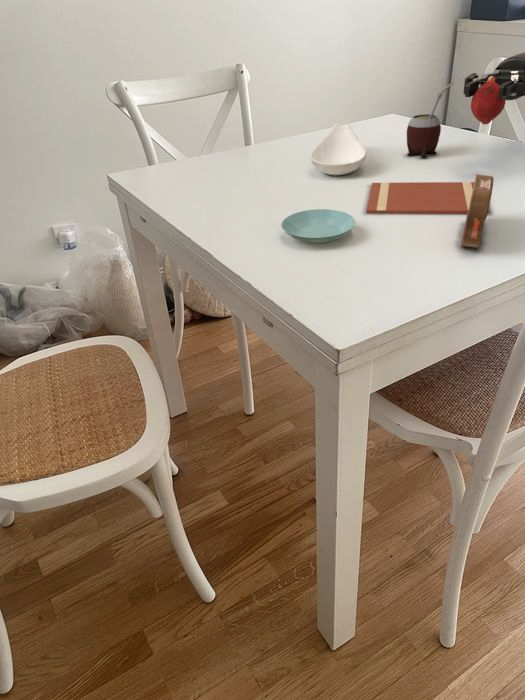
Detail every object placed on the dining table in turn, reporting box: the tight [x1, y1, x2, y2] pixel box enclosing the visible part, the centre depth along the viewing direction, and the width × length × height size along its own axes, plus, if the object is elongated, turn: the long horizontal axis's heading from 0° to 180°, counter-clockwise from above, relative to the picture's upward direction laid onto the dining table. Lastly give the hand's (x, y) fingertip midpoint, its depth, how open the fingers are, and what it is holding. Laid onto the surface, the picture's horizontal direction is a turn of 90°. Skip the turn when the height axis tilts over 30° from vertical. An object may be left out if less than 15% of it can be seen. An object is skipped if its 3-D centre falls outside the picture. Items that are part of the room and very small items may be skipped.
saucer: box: [280, 208, 356, 244], centre depth 87 cm, size 12×12×2 cm
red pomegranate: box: [470, 76, 507, 125], centre depth 97 cm, size 6×6×8 cm
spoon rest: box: [309, 123, 368, 177], centre depth 118 cm, size 24×12×7 cm, turn 170°
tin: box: [460, 173, 494, 249], centre depth 80 cm, size 15×3×8 cm, turn 159°
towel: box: [365, 181, 490, 215], centre depth 97 cm, size 20×15×1 cm
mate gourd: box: [406, 81, 454, 160], centre depth 116 cm, size 8×8×15 cm
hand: (484, 91), depth 95 cm, fingers closed on red pomegranate, 5 cm apart
